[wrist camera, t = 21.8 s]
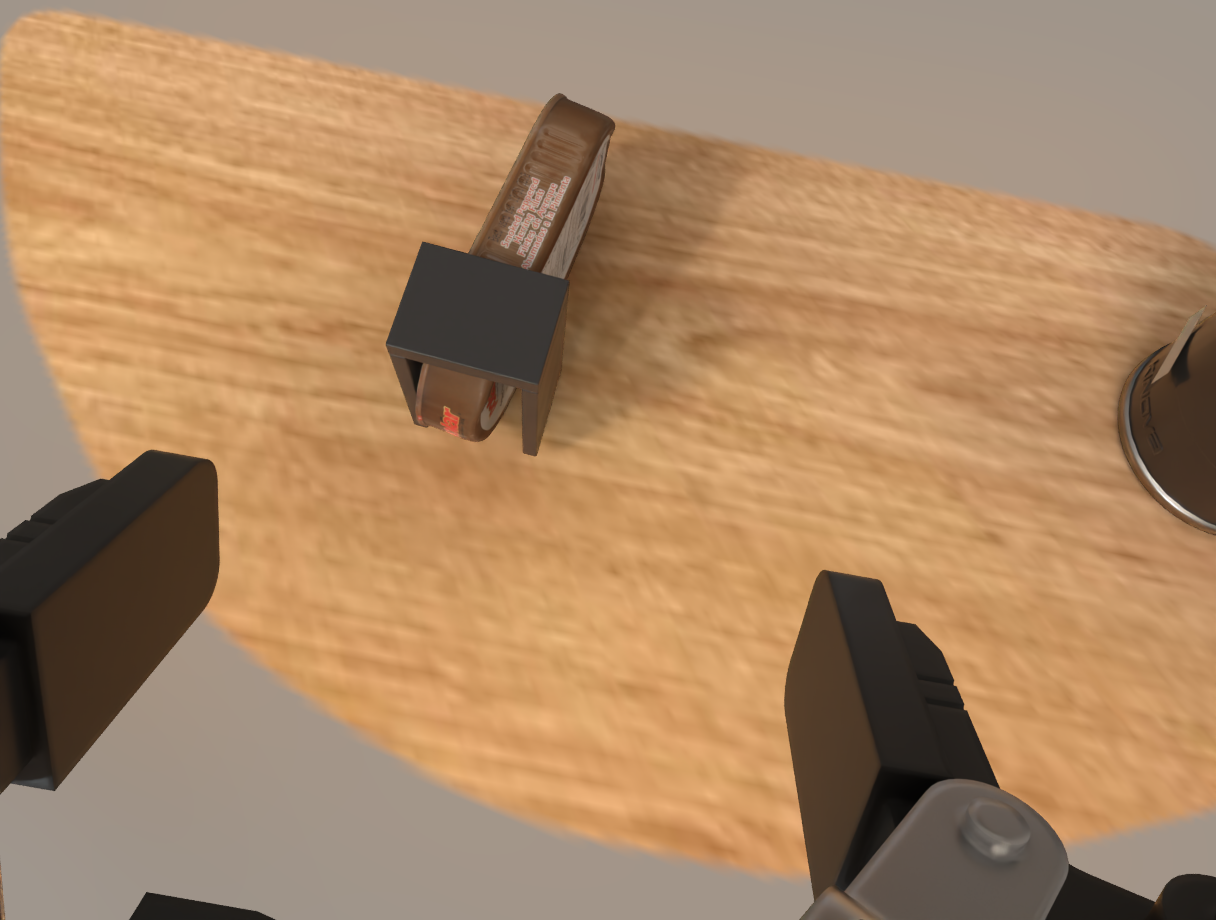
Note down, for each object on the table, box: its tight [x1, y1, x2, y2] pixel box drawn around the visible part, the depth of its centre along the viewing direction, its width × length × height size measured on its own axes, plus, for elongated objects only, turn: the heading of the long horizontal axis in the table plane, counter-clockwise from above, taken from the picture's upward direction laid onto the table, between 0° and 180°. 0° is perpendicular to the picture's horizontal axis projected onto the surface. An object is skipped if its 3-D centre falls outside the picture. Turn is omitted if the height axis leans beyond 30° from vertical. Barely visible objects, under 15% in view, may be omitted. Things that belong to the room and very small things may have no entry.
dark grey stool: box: [386, 242, 569, 456], centre depth 34 cm, size 5×4×8 cm
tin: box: [415, 93, 615, 442], centre depth 37 cm, size 15×3×8 cm, turn 159°
